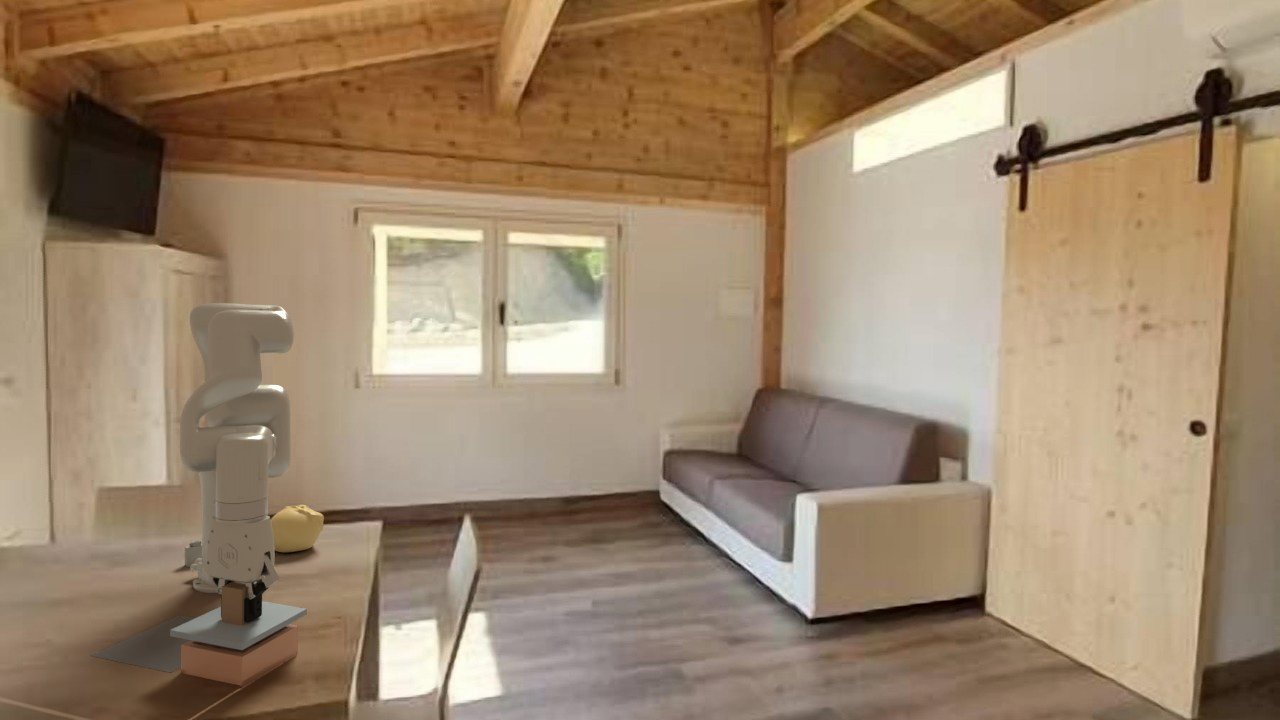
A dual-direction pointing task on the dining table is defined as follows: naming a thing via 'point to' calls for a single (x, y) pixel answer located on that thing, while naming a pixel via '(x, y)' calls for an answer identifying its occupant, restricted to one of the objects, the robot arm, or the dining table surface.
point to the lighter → (193, 552)
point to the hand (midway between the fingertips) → (241, 615)
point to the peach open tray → (239, 658)
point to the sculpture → (296, 528)
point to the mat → (150, 648)
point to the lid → (237, 621)
